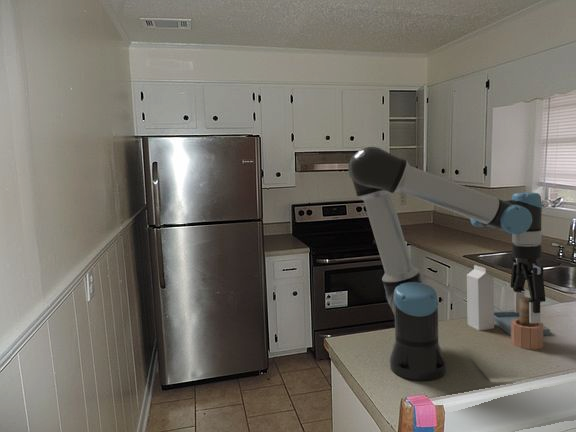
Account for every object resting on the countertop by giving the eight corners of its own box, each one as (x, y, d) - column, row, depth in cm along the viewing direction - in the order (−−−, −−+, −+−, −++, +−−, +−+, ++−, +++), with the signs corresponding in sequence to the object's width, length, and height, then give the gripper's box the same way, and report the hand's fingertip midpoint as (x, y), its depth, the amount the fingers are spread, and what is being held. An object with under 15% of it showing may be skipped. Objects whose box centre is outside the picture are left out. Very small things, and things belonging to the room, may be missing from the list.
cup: (519, 352, 121) (519, 328, 120) (506, 341, 129) (506, 318, 128) (549, 352, 120) (549, 327, 119) (533, 340, 128) (533, 317, 128)
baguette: (523, 346, 123) (523, 301, 121) (517, 341, 127) (516, 297, 125) (537, 346, 122) (537, 301, 121) (530, 340, 126) (530, 296, 125)
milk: (482, 325, 144) (481, 264, 142) (494, 331, 138) (494, 267, 136) (467, 327, 142) (466, 265, 140) (478, 333, 136) (478, 269, 134)
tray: (511, 338, 131) (510, 330, 130) (487, 319, 149) (487, 311, 148) (549, 337, 130) (549, 329, 130) (521, 318, 148) (521, 310, 147)
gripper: (560, 250, 111) (560, 330, 113) (522, 238, 132) (522, 305, 134) (532, 251, 111) (532, 330, 113) (498, 239, 132) (498, 306, 134)
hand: (526, 317), depth 124 cm, fingers open, 8 cm apart
